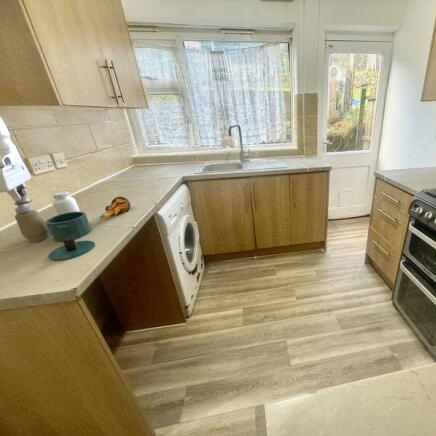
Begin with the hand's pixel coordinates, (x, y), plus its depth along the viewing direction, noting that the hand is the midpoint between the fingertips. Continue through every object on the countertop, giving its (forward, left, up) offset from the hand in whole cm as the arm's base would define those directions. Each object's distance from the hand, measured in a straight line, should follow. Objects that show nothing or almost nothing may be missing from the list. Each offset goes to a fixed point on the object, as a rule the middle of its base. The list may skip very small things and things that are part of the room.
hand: (21, 198), depth 86 cm
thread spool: (0, 0, -2) cm, 2 cm away
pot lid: (+10, -8, -20) cm, 24 cm away
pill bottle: (+3, +27, -21) cm, 35 cm away
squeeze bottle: (-5, +13, -21) cm, 26 cm away
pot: (+6, +10, -21) cm, 24 cm away
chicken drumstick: (+21, +26, -21) cm, 40 cm away
